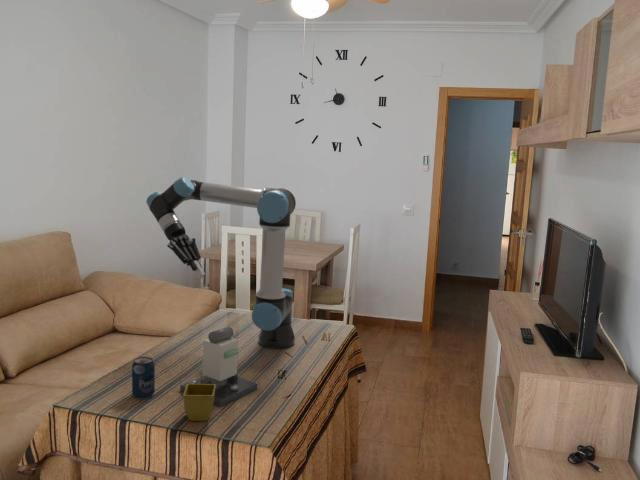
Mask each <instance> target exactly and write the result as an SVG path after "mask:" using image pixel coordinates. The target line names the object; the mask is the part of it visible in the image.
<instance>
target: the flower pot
mask: <svg viewBox="0 0 640 480" xmlns="http://www.w3.org/2000/svg"><path fill="white" fill-rule="evenodd" d="M215 388H216V384H187V386H186V389H185V392H183V395H182V396H183V406H184V407H183V408H184V412H185V414H186V417H187V418H188V420H189V421H190V422H197V421H198V422H207V421H208V420H209V418H210V416H211V414H212V411H213V406H214V404H213V402H214V396H215Z"/></svg>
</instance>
